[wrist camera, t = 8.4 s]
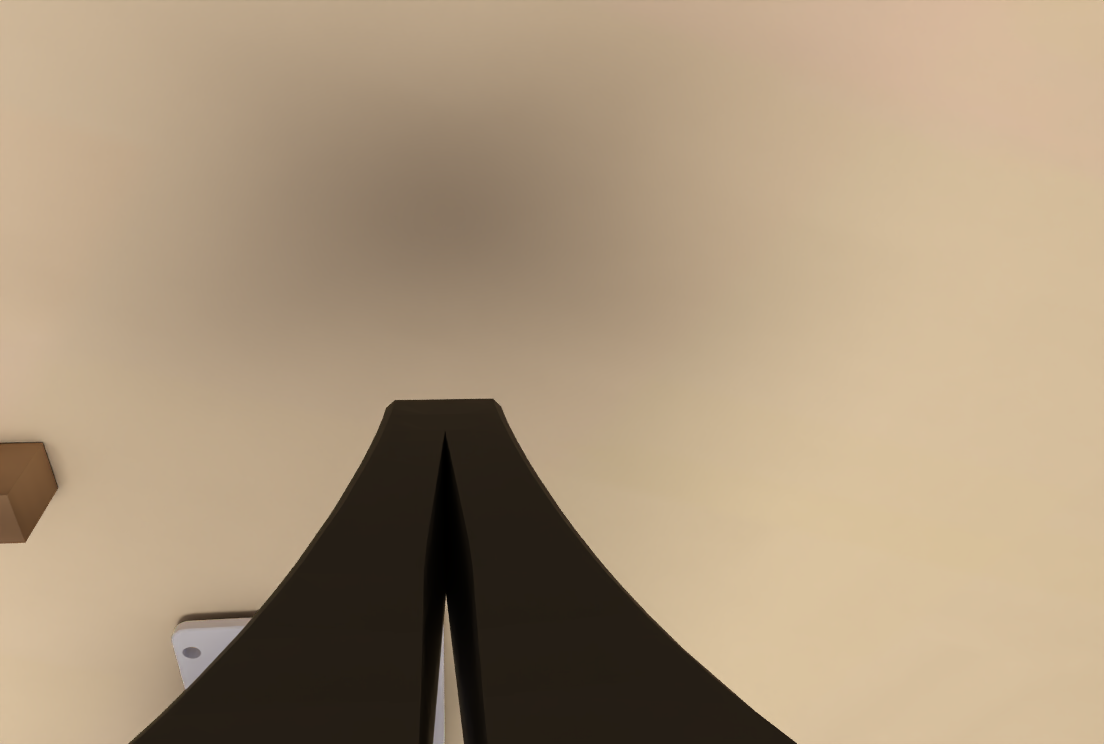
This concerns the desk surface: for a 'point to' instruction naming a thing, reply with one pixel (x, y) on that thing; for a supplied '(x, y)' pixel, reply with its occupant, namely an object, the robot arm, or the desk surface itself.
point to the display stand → (23, 489)
